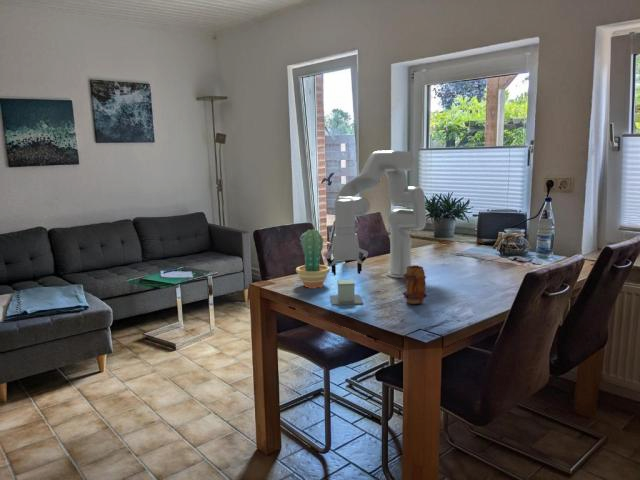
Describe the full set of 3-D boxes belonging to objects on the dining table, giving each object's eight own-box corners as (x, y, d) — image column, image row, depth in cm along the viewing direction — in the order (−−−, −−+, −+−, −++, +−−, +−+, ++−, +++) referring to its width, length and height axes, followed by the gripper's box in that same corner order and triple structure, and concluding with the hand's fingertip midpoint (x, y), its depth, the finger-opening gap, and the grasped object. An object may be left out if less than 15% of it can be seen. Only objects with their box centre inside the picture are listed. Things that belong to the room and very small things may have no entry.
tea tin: (353, 296, 202) (352, 279, 200) (354, 301, 195) (354, 283, 194) (337, 297, 201) (337, 280, 200) (339, 301, 195) (338, 283, 194)
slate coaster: (359, 295, 205) (359, 294, 204) (363, 304, 193) (363, 303, 193) (330, 297, 204) (329, 295, 204) (332, 305, 192) (332, 304, 192)
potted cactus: (327, 280, 231) (326, 226, 227) (333, 288, 216) (332, 231, 212) (294, 282, 229) (292, 228, 225) (298, 291, 214) (296, 233, 210)
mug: (401, 300, 198) (401, 262, 195) (421, 299, 198) (421, 261, 196) (411, 311, 183) (411, 271, 181) (432, 310, 184) (433, 270, 181)
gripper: (366, 228, 198) (367, 270, 201) (322, 230, 197) (324, 272, 201) (369, 231, 191) (370, 275, 194) (323, 233, 190) (325, 277, 193)
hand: (346, 273), depth 197 cm, fingers open, 9 cm apart
